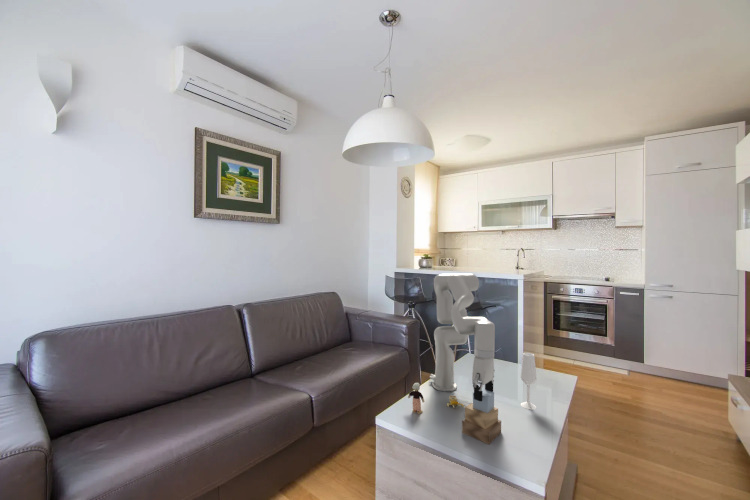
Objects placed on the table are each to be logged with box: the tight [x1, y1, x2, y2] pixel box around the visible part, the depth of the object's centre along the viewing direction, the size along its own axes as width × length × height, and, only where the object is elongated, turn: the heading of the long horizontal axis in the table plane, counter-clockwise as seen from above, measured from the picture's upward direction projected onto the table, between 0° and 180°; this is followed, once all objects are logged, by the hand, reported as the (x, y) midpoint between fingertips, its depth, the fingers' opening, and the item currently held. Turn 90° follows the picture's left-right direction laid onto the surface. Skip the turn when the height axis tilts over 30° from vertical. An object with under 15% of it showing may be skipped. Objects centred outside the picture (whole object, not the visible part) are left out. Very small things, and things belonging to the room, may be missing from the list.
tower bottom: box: [461, 418, 502, 445], centre depth 126 cm, size 11×11×5 cm
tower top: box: [464, 402, 499, 429], centre depth 126 cm, size 9×9×5 cm
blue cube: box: [472, 388, 495, 413], centre depth 126 cm, size 6×6×6 cm
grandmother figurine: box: [407, 382, 425, 415], centre depth 142 cm, size 8×4×13 cm, turn 71°
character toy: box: [446, 395, 465, 408], centre depth 147 cm, size 8×3×8 cm
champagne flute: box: [520, 352, 537, 410], centre depth 148 cm, size 7×7×24 cm
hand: (483, 396), depth 126 cm, fingers open, 9 cm apart
